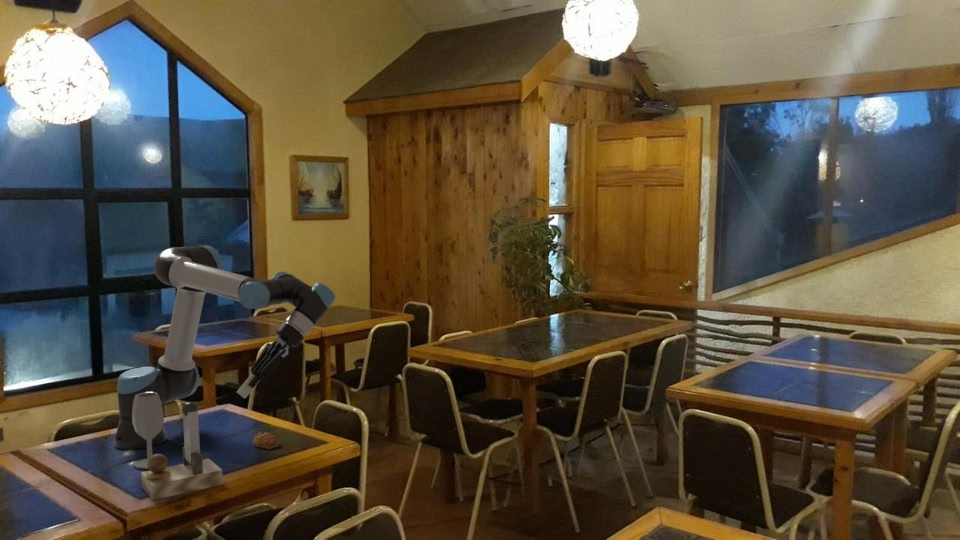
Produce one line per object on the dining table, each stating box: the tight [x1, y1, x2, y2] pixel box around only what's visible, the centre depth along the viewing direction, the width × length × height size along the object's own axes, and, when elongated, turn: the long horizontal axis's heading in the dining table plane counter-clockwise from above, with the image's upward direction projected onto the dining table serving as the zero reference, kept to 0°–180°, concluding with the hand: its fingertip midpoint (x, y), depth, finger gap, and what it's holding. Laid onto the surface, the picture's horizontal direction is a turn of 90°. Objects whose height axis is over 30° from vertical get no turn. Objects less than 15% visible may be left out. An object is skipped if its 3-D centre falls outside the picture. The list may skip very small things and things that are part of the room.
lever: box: [181, 401, 201, 466], centre depth 208 cm, size 4×7×18 cm, turn 36°
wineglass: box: [132, 392, 165, 470], centre depth 224 cm, size 9×9×21 cm
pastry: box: [252, 431, 280, 450], centre depth 241 cm, size 9×7×4 cm
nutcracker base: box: [140, 446, 224, 501], centre depth 207 cm, size 18×12×10 cm, turn 126°
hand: (240, 395), depth 215 cm, fingers closed
